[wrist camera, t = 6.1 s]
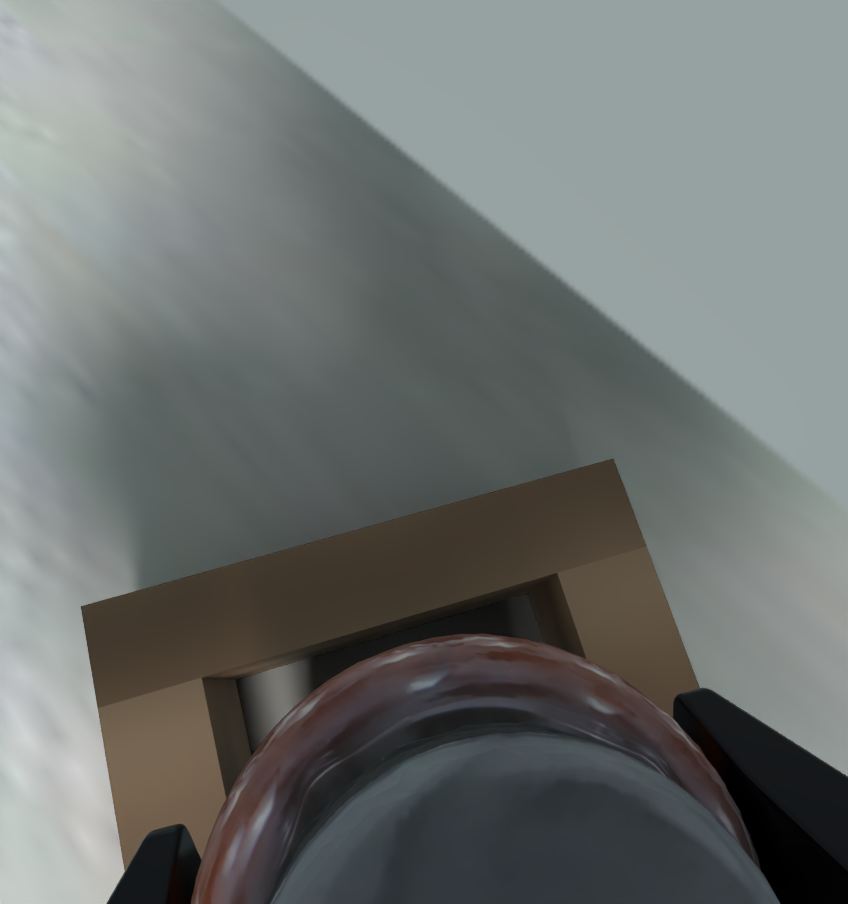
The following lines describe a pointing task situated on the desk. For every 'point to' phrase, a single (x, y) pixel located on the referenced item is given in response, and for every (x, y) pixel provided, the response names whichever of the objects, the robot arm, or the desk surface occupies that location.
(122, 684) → the walnut pocket block
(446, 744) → the supplement bottle
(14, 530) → the desk surface
